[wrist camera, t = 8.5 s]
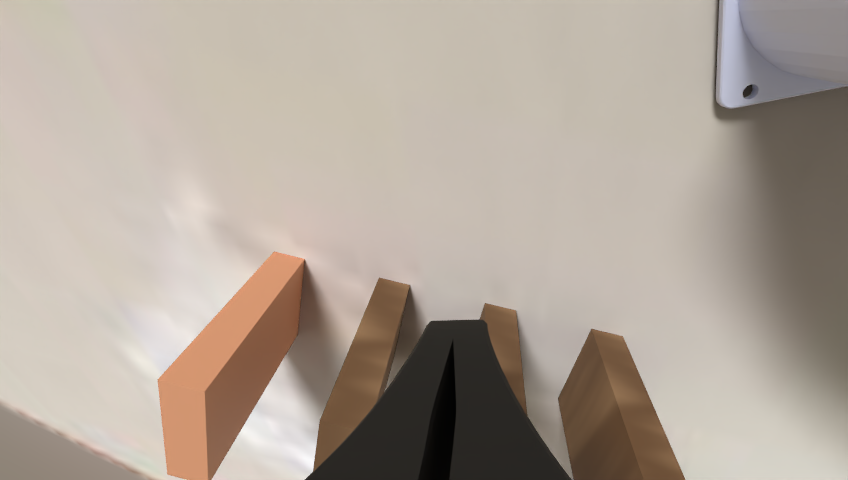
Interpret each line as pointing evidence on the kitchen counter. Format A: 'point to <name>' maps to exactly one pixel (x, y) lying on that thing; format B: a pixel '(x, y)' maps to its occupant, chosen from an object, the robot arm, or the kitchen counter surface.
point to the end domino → (229, 369)
